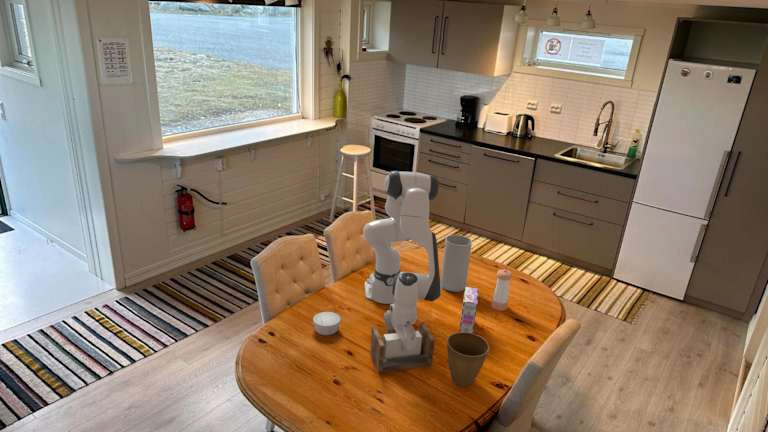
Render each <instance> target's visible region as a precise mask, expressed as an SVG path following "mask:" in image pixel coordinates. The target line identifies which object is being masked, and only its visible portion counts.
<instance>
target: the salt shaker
mask: <svg viewBox="0 0 768 432" xmlns="http://www.w3.org/2000/svg"><path fill="white" fill-rule="evenodd" d="M496 276H497V280H496V285H495V289H494V292H493V297H492V299H491V308H493V309H494V310H496V311H506V310H507V309H508V306H509V300H508V299H509V295H510V294H509V293H510V289H509V287H510V281H511V280H512V278H513V274H512V272H511V271H510V270H508V269H506V268H505V269H499V270H498V271H497V272H496Z"/></svg>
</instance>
